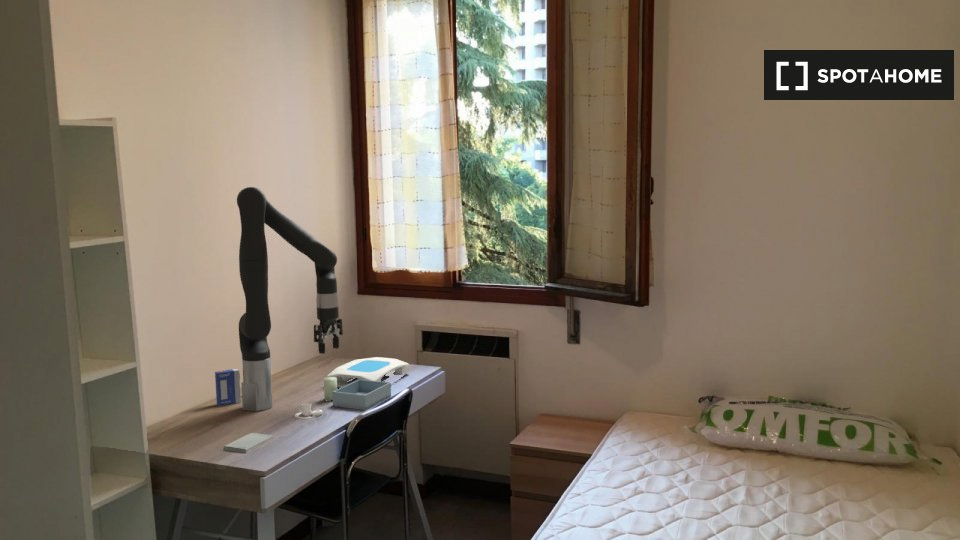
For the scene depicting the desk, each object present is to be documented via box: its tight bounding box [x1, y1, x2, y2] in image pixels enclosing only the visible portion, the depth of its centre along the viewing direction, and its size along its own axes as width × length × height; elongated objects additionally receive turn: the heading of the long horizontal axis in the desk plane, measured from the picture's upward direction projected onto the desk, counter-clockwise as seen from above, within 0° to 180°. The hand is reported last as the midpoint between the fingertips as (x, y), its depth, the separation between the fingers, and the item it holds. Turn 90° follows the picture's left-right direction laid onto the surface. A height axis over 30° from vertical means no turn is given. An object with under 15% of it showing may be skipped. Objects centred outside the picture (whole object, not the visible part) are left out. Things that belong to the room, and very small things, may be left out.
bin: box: [332, 379, 392, 411], centre depth 259 cm, size 17×13×5 cm
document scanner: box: [326, 356, 410, 389], centre depth 285 cm, size 21×28×6 cm
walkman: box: [214, 368, 242, 407], centre depth 257 cm, size 8×3×12 cm, turn 123°
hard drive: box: [222, 432, 274, 454], centre depth 217 cm, size 2×8×12 cm
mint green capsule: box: [323, 376, 338, 402], centre depth 261 cm, size 5×5×8 cm
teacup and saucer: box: [294, 402, 323, 420], centre depth 244 cm, size 9×8×4 cm
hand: (329, 350), depth 260 cm, fingers open, 8 cm apart
